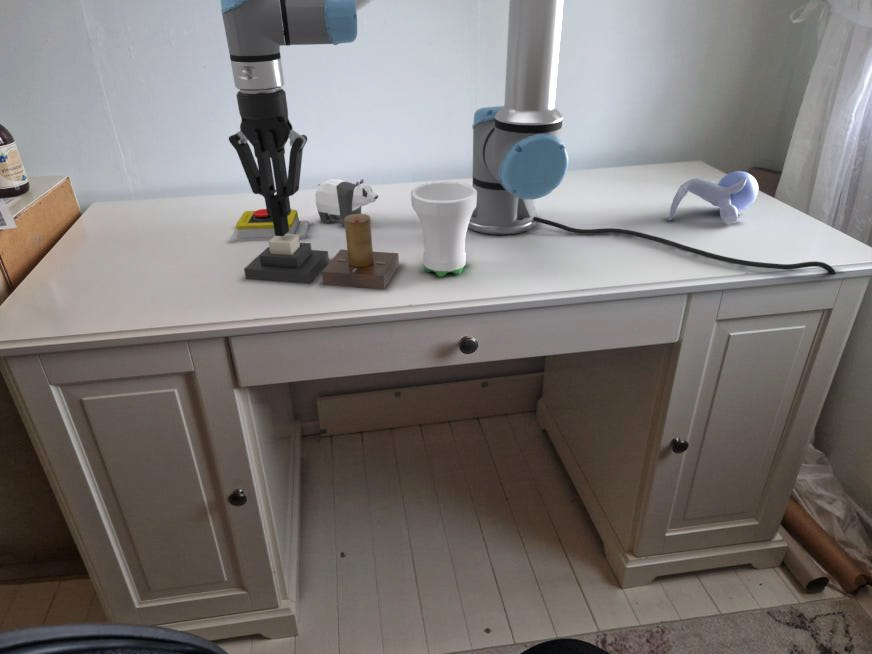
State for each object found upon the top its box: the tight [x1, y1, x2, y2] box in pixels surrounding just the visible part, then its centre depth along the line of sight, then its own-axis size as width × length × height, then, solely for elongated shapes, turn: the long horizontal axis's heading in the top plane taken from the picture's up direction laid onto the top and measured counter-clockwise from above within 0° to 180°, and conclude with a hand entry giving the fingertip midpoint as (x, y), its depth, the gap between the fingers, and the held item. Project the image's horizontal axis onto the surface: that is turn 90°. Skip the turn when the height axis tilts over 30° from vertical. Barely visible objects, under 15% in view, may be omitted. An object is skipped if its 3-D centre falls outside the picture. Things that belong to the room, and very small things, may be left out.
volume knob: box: [344, 213, 374, 267], centre depth 108 cm, size 4×4×8 cm
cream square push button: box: [268, 234, 301, 255], centre depth 112 cm, size 4×4×3 cm
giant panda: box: [315, 178, 379, 227], centre depth 131 cm, size 15×6×10 cm, turn 62°
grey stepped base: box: [243, 242, 330, 285], centre depth 113 cm, size 12×10×4 cm
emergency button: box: [229, 208, 311, 243], centre depth 129 cm, size 9×4×15 cm
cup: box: [410, 181, 477, 278], centre depth 109 cm, size 11×11×14 cm
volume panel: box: [321, 249, 400, 290], centre depth 111 cm, size 11×10×3 cm
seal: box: [667, 170, 759, 224], centre depth 131 cm, size 8×12×20 cm
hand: (282, 233), depth 110 cm, fingers closed
